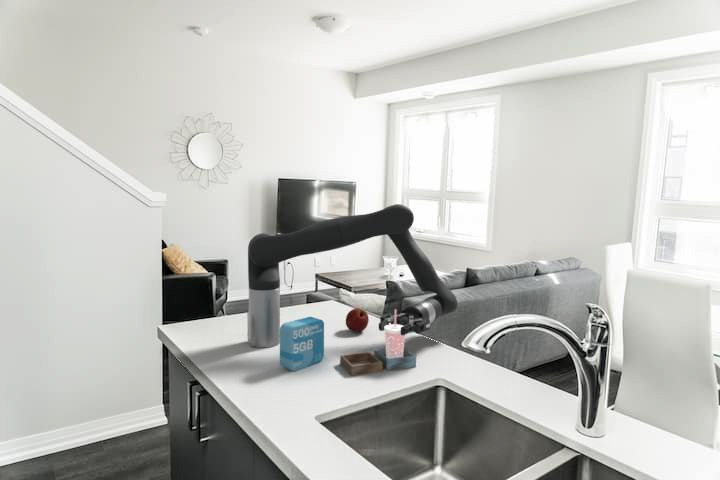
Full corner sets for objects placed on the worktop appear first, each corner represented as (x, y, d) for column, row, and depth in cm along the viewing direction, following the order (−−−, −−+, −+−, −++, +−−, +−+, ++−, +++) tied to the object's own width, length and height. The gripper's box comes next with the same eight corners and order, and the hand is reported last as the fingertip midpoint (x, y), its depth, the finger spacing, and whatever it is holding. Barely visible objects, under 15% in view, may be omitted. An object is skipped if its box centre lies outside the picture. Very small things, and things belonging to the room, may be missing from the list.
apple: (352, 336, 157) (352, 312, 157) (341, 329, 164) (341, 306, 163) (371, 333, 161) (372, 309, 160) (360, 327, 168) (360, 304, 167)
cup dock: (351, 375, 125) (351, 364, 125) (340, 364, 133) (340, 353, 132) (415, 366, 132) (416, 356, 132) (401, 356, 140) (401, 346, 139)
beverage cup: (379, 357, 136) (380, 307, 134) (398, 354, 138) (400, 305, 137) (389, 364, 130) (390, 313, 128) (409, 361, 133) (411, 311, 131)
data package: (290, 372, 126) (290, 327, 125) (279, 368, 129) (279, 323, 128) (324, 361, 135) (324, 318, 134) (313, 357, 138) (313, 315, 137)
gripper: (397, 299, 148) (368, 311, 134) (441, 306, 141) (415, 320, 127) (396, 323, 149) (367, 338, 135) (440, 332, 142) (414, 348, 128)
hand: (391, 329), depth 131 cm, fingers closed on beverage cup, 6 cm apart
